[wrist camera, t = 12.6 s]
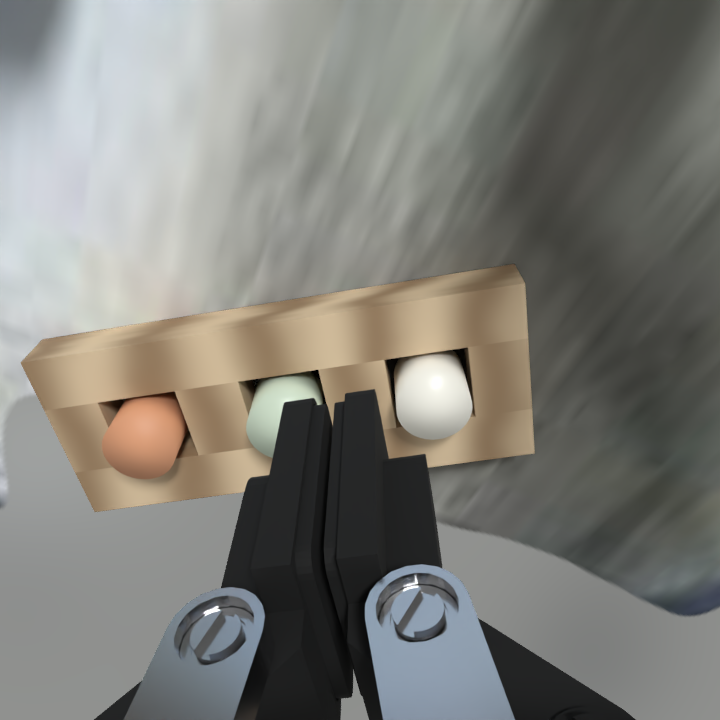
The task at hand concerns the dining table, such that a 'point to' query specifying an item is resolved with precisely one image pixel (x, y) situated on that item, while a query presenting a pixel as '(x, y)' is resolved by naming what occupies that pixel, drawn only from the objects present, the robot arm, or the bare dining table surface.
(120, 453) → the brown egg
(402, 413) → the white rounded dome
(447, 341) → the oak panel
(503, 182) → the dining table surface
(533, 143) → the dining table surface
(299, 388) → the pale green rounded knob
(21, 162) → the dining table surface
